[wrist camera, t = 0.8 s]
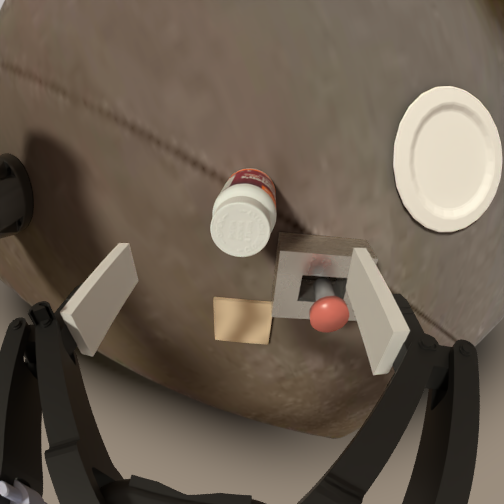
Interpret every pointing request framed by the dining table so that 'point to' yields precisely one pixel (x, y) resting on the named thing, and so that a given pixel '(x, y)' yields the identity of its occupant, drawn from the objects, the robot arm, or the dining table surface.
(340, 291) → the grey boxy piece
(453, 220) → the plate
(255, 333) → the cork pad
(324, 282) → the lever
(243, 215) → the pill bottle
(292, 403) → the dining table surface
